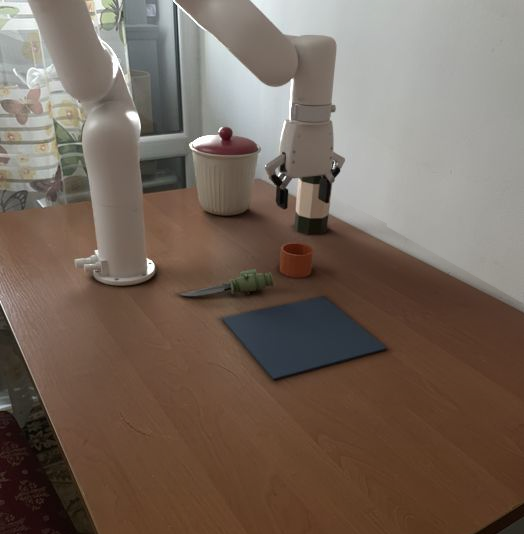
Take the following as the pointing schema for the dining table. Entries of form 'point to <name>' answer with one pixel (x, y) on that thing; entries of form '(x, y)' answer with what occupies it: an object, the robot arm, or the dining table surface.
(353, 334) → the mat
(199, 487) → the dining table surface
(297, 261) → the ramekin
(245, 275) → the knife
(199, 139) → the canister
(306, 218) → the wine bottle
